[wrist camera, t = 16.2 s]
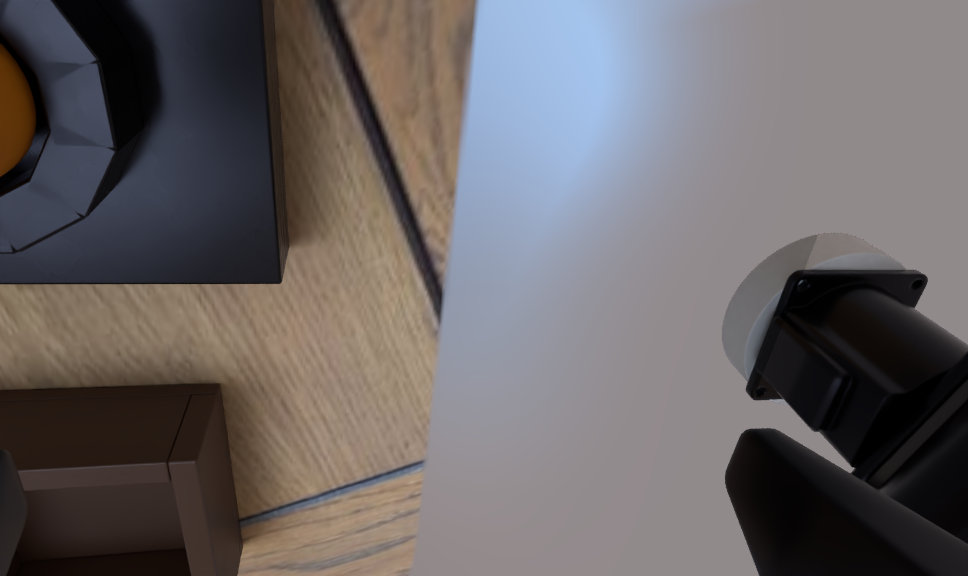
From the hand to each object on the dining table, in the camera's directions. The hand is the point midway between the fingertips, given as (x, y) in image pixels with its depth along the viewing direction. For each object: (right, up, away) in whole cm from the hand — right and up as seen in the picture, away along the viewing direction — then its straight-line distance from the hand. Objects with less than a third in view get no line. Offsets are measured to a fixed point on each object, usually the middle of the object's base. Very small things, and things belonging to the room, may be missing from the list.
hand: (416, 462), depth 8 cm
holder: (-12, -4, +14) cm, 19 cm away
